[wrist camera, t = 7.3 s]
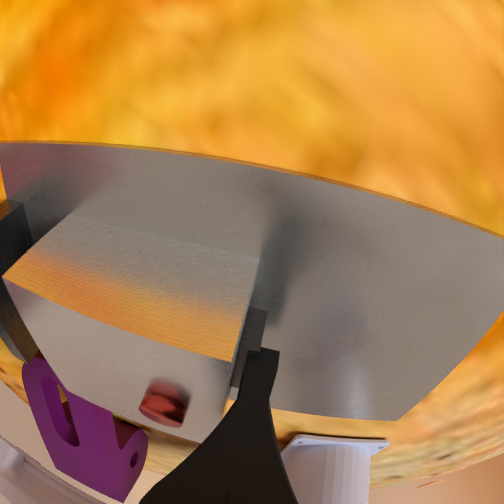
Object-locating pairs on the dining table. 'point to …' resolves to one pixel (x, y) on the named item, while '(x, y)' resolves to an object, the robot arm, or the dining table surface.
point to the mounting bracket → (84, 435)
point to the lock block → (137, 320)
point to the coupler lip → (281, 265)
